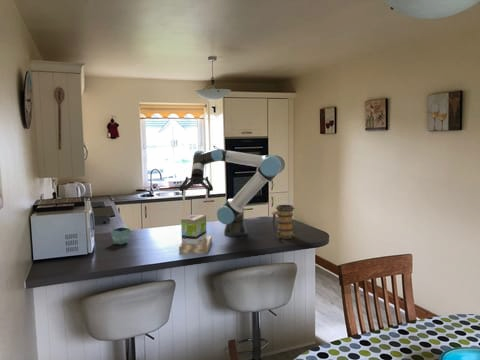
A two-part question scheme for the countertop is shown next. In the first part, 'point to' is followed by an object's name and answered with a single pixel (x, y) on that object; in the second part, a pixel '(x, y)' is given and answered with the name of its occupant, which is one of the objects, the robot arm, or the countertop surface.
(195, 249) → the birch stand
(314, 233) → the countertop surface
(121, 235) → the flower pot
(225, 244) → the countertop surface
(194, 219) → the tea box
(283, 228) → the mug
